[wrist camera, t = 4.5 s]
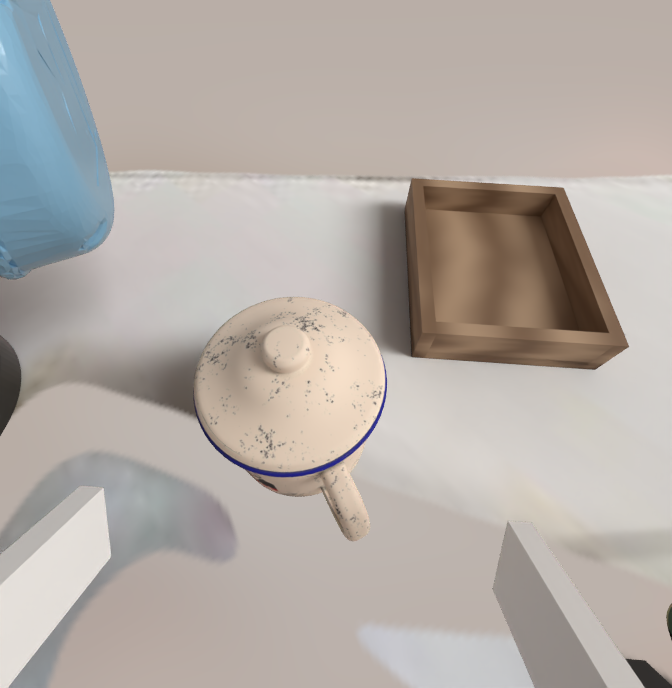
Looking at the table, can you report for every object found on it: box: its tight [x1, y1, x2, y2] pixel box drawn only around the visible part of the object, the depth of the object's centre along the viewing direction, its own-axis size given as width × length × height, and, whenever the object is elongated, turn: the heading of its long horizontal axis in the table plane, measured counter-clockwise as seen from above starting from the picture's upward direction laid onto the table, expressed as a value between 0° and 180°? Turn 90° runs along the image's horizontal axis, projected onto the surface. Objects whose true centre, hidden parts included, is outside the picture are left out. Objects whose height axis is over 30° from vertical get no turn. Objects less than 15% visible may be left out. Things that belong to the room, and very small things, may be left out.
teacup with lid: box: [193, 297, 387, 541], centre depth 18 cm, size 12×9×12 cm
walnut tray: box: [405, 179, 629, 370], centre depth 30 cm, size 14×17×4 cm
